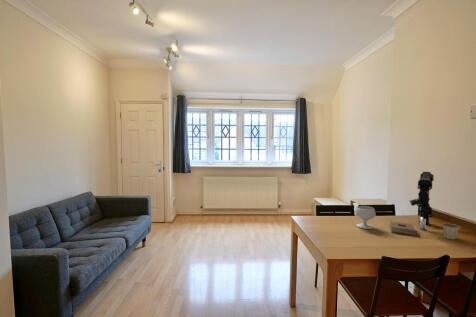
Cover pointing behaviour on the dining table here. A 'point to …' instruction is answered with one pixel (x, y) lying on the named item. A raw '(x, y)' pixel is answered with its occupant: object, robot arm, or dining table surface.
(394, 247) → the dining table surface
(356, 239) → the dining table surface
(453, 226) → the flower pot
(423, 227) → the pin
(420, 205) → the robot arm
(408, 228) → the bore block
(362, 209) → the chalice
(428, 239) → the dining table surface
